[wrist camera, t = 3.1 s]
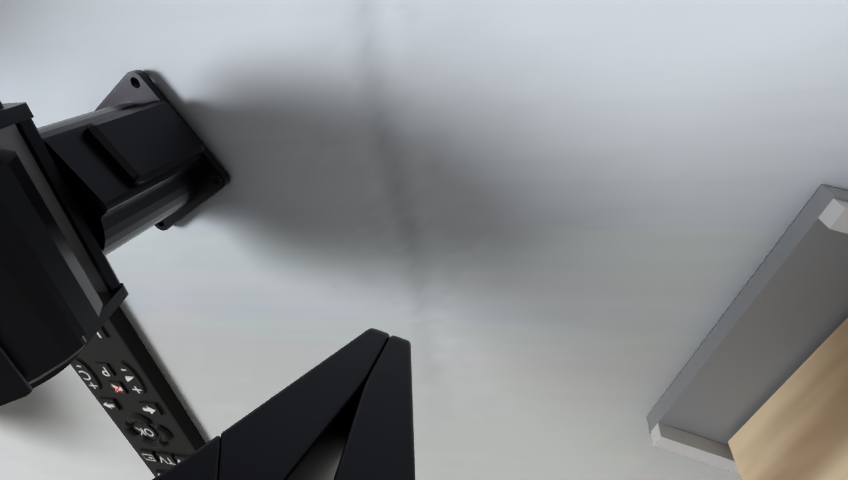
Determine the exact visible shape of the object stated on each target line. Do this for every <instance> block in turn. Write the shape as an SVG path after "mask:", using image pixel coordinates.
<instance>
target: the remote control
mask: <svg viewBox="0 0 848 480" xmlns="http://www.w3.org/2000/svg"><path fill="white" fill-rule="evenodd" d="M70 364H71V365H72V367H73V368H74V369H75V371H76V372H77V373H78V375H79V376H80V377H81V379H82V380H83V381H84V383H85V384H86V385H87V387H88V388H89V389H90V391H91V392H92V393H93V395H94V396H95V397H96V399H97V400H98V401H99V403H100V404H101V405H102V407H103V408H104V409H105V411H106V412H107V413H108V415H109V416H110V417H111V419H112V420H113V421H114V423H115V424H116V425H117V427H118V428H119V429H120V431H121V432H122V433H123V435H124V436H125V437H126V439H127V440H128V441H129V443H130V444H131V445H132V447H133V448H134V449H135V451H136V452H137V453H138V454H139V456H140V457H141V458H142V460H143V461H144V462H145V464H146V465H147V466H148V468H149V469H150V470H151V472H152V473H153V474H154V476H155V477H157V476H159V475H161V474H162V473H164V472H165V471H167V470H168V469H170V468H171V467H173V466H174V465H176V464H177V463H179V462H180V461H182V460H183V459H185V458H186V457H188V456H189V455H191V454H192V453H194V452H195V451H197V450H198V449H200V448H201V447H202V446H204V445H205V444H206V443H205V441H204V440H203V438H202V436H201V435H200V433H199V432H198V430H197V429H196V427H195V425H194V424H193V422H192V421H191V419H190V417H189V416H188V414H187V413H186V411H185V410H184V408H183V406H182V405H181V403H180V402H179V400H178V398H177V397H176V395H175V394H174V392H173V391H172V389H171V387H170V386H169V384H168V383H167V381H166V379H165V378H164V376H163V375H162V373H161V372H160V370H159V368H158V367H157V365H156V364H155V362H154V360H153V359H152V357H151V356H150V354H149V352H148V351H147V349H146V348H145V346H144V345H143V343H142V341H141V340H140V338H139V337H138V335H137V333H136V332H135V330H134V329H133V327H132V326H131V324H130V322H129V321H128V319H127V318H126V316H125V314H124V313H123V311H122V310H121V308H120V307H119V306H118V308H117V309H116V310H115V311H114V312H113V314H112V315H111V316H110V317H109V318H108V320H107V321H106V322H105V323H104V325H103V326H102V327H101V328H100V329H99V331H98V332H97V333H96V334H95V335H94V337H93V338H92V339H91V340H90V341H89V343H88V344H87V345H86V346H85V348H84V349H83V350H82V351H81V352H80V354H79V355H78V356H77V357H76V358H75V359H74V360H73V361H72V362H71V363H70Z"/></svg>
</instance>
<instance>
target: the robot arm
mask: <svg viewBox="0 0 848 480" xmlns="http://www.w3.org/2000/svg"><path fill="white" fill-rule="evenodd" d="M137 79H138V81H139V82H140V84H139V83H138V81H137ZM33 117H34V116H33V115H32V113H31V111H30V109H29V107H28V105H27V103H26V102H23V103H8V104H2V103H1V102H0V406H1V405H4V404H7V403H9V402H12V401H14V400H17V399H20V398H22V397H25V396H27V395H28V394H30V393H31V392H32V390H33V388H34V387H36V386H38V385H40V384H42V383H44V382H46V381H47V380H49V379H50V378H52V377H54V376H55V375H57V374H58V373H59V372H61V371H62V370H63V369H64V368H66V367H67V366H68V365H69V364H70V363H71V362H72V361H73V360H74V359H75V358H76V357H77V356H78V355H79V354H80V352H81V351H82V350H83V349H84V348H85V346H86V345H87V344H88V343H89V341H90V340H91V339H92V338H93V337H94V335H95V334H96V333H97V332H98V331H99V329H100V328H101V327H102V326H103V325H104V323H105V322H106V321H107V320H108V318H109V317H110V316H111V315H112V314H113V312H114V311H115V310H116V309H117V308H118V306H119V305H120V304H121V303H122V302H123V300H124V299H125V298H126V297H127V295H128V292H127V290H126V288H125V286H124V285H123V283H120V282H119V280H118V278H117V276H116V274H115V273H114V271H113V269H112V267H111V265H110V263H109V262H108V260H107V258H106V256H105V255H107V254H108V253H110V252H112V251H113V250H115V249H116V248H118V247H120V246H121V245H123V244H124V243H126V242H128V241H129V240H131V239H132V238H134V237H136V236H137V235H139V234H140V233H142V232H144V231H145V230H147V229H149V228H150V227H152V226H153V225H155V226H156V227H157V228H158V229H160V230H167V229H168V228H170V227H171V226H173V225H174V224H176V223H177V222H178V221H180V220H181V219H182V218H184V217H185V216H186V215H188V214H189V213H190V212H192V211H193V210H194V209H196V208H197V207H199V206H200V205H201V204H203V203H204V202H205V201H207V200H208V199H209V198H211V197H212V196H213V195H215V194H216V193H217V192H219V191H220V190H222V189H223V188H224V187H226V186H227V185H228V184H229V183H230V176H229V174H228V173H227V171H226V170H225V169H224V168H223V167H222V165H221V164H220V163H219V162H218V160H217V159H216V158H215V157H214V156H213V154H212V153H211V152H210V151H209V150H208V148H207V147H206V146H205V145H204V144H203V142H202V141H201V140H200V139H199V137H198V136H197V135H196V134H195V133H194V131H193V130H192V129H191V128H190V127H189V125H188V124H187V123H186V122H185V120H184V119H183V118H182V117H181V116H180V114H179V113H178V112H177V111H176V110H175V108H174V107H173V106H172V105H171V103H170V102H169V101H168V100H167V99H166V97H165V96H164V95H163V94H162V93H161V91H160V90H159V89H158V88H157V86H156V85H155V84H154V83H153V82H152V80H151V79H150V78H149V77H148V76H147V75H146V74H145V73H144V72H143V71H141V70H135V71H130V72H128V73H127V74H126V75H125V76H124V77H123V79H122V80H121V81H120V82H119V83H118V84H117V85H116V87H115V88H114V89H113V90H112V91H111V92H110V94H109V95H108V96H107V97H106V98H105V99H104V100H103V102H102V103H101V104H100V105H99V106H98V107H97V109H96V110H95V111H93V112H90V113H87V114H83V115H80V116H77V117H73V118H70V119H67V120H63V121H60V122H57V123H53V124H50V125H47V126H43V127H40V128H36V126H35V124H34V122H33V120H32V119H31V118H33ZM217 176H218V177H219V178H220V179H221V181H220V180H219V179H218V177H217ZM152 480H415V458H414V429H413V400H412V371H411V344H410V342H409V341H408V340H405V339H402V338H399V337H397V336H391V337H390V336H389V334H388V333H385V332H382V331H380V330H377V329H374V328H371V329H368V330H367V331H365V332H364V333H362V334H361V335H360V336H358V337H357V338H355V339H354V340H353V341H351V342H350V343H348V344H347V345H346V346H344V347H343V348H341V349H340V350H338V351H337V352H336V353H334V354H333V355H331V356H330V357H329V358H327V359H326V360H324V361H323V362H321V363H320V364H319V365H317V366H316V367H314V368H313V369H312V370H310V371H309V372H307V373H306V374H304V375H303V376H302V377H300V378H299V379H297V380H296V381H295V382H293V383H292V384H290V385H289V386H287V387H286V388H285V389H283V390H282V391H280V392H279V393H278V394H276V395H275V396H273V397H272V398H271V399H269V400H268V401H266V402H265V403H263V404H262V405H261V406H259V407H258V408H256V409H255V410H254V411H252V412H251V413H249V414H248V415H246V416H245V417H244V418H242V419H241V420H239V421H238V422H237V423H235V424H234V425H232V426H231V427H229V428H228V429H227V430H225V431H224V432H223V433H222V434H221V437H220V436H216V437H215V438H214V439H212V440H211V441H209V442H208V443H207V444H205V445H204V446H202V447H201V448H200V449H198V450H197V451H195V452H194V453H192V454H191V455H189V456H188V457H186V458H185V459H183V460H182V461H180V462H179V463H177V464H176V465H174V466H173V467H171V468H170V469H168V470H167V471H165V472H164V473H162V474H161V475H159V476H157V477H156V478H154V479H152Z"/></svg>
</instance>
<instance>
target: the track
mask: <svg viewBox="0 0 848 480" xmlns="http://www.w3.org/2000/svg"><path fill="white" fill-rule="evenodd" d="M847 318H848V191H846V190H842V189H838V188H834V187H830V186H826V185H823V184H821V185H820V187H819V188H818V189H817V191H816V192H815V193H814V195H813V196H812V197H811V199H810V200H809V201H808V203H807V204H806V205H805V207H804V208H803V209H802V211H801V212H800V213H799V215H798V216H797V217H796V219H795V220H794V221H793V223H792V224H791V225H790V227H789V228H788V229H787V231H786V232H785V233H784V235H783V236H782V237H781V239H780V240H779V241H778V243H777V244H776V245H775V247H774V248H773V249H772V251H771V252H770V253H769V255H768V256H767V257H766V259H765V260H764V261H763V263H762V264H761V265H760V267H759V268H758V269H757V271H756V272H755V273H754V275H753V276H752V277H751V279H750V280H749V281H748V283H747V284H746V285H745V287H744V288H743V289H742V291H741V292H740V293H739V295H738V296H737V297H736V299H735V300H734V301H733V303H732V304H731V305H730V307H729V308H728V309H727V311H726V312H725V313H724V315H723V316H722V317H721V319H720V320H719V321H718V323H717V324H716V325H715V327H714V328H713V329H712V331H711V332H710V333H709V335H708V336H707V337H706V339H705V340H704V341H703V343H702V344H701V345H700V347H699V348H698V349H697V351H696V352H695V353H694V355H693V356H692V357H691V359H690V360H689V361H688V363H687V364H686V365H685V367H684V368H683V369H682V371H681V372H680V373H679V375H678V376H677V377H676V379H675V380H674V381H673V383H672V384H671V385H670V387H669V388H668V389H667V391H666V392H665V393H664V395H663V396H662V397H661V399H660V400H659V401H658V403H657V404H656V405H655V407H654V408H653V409H652V411H651V412H650V413H649V415H648V416H647V421H648V426H649V431H650V433H651V436H652V441H653V446H655V447H658V448H661V449H664V450H667V451H670V452H673V453H676V454H679V455H682V456H685V457H688V458H691V459H694V460H697V461H700V462H703V463H706V464H709V465H712V466H714V467H717V468H720V469H723V470H726V471H729V472H732V473H735V474H738V475H739V472H738V469H737V466H736V463H735V461H734V458H733V455H732V452H731V449H730V446H729V443H728V441H729V440H730V439H731V438H732V437H733V436H734V435H735V434H736V433H737V432H738V431H739V430H740V428H741V427H742V426H743V425H744V424H745V423H746V422H747V421H748V420H749V419H750V418H751V417H752V416H753V415H754V414H755V413H756V412H757V411H758V410H759V409H760V408H761V407H762V406H763V405H764V404H765V403H766V402H767V401H768V399H769V398H770V397H771V396H772V395H773V394H774V393H775V392H776V391H777V390H778V389H779V388H780V387H781V386H782V385H783V384H784V383H785V382H786V381H787V380H788V379H789V378H790V377H791V376H792V375H793V374H794V373H795V371H796V370H797V369H798V368H799V367H800V366H801V365H802V364H803V363H804V362H805V361H806V360H807V359H808V358H809V357H810V356H811V355H812V354H813V353H814V352H815V351H816V350H817V349H818V348H819V347H820V346H821V345H822V344H823V342H824V341H825V340H826V339H827V338H828V337H829V336H830V335H831V334H832V333H833V332H834V331H835V330H836V329H837V328H838V327H839V326H840V325H841V324H842V323H843V322H844V321H845V320H846V319H847Z"/></svg>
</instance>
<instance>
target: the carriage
mask: <svg viewBox="0 0 848 480" xmlns="http://www.w3.org/2000/svg"><path fill="white" fill-rule="evenodd" d="M728 443H729V446H730V449H731V452H732V455H733V458H734V461H735V463H736V466H737V469H738V472H739V475H740V478H741V480H848V318H847V319H846V320H845V321H844V322H843V323H842V324H841V325H840V326H839V327H838V328H837V329H836V330H835V331H834V332H833V333H832V334H831V335H830V336H829V337H828V338H827V339H826V340H825V341H824V342H823V344H822V345H821V346H820V347H819V348H818V349H817V350H816V351H815V352H814V353H813V354H812V355H811V356H810V357H809V358H808V359H807V360H806V361H805V362H804V363H803V364H802V365H801V366H800V367H799V368H798V369H797V370H796V371H795V373H794V374H793V375H792V376H791V377H790V378H789V379H788V380H787V381H786V382H785V383H784V384H783V385H782V386H781V387H780V388H779V389H778V390H777V391H776V392H775V393H774V394H773V395H772V396H771V397H770V398H769V399H768V401H767V402H766V403H765V404H764V405H763V406H762V407H761V408H760V409H759V410H758V411H757V412H756V413H755V414H754V415H753V416H752V417H751V418H750V419H749V420H748V421H747V422H746V423H745V424H744V425H743V426H742V427H741V428H740V430H739V431H738V432H737V433H736V434H735V435H734V436H733V437H732V438H731V439H730V440H729V441H728Z"/></svg>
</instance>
